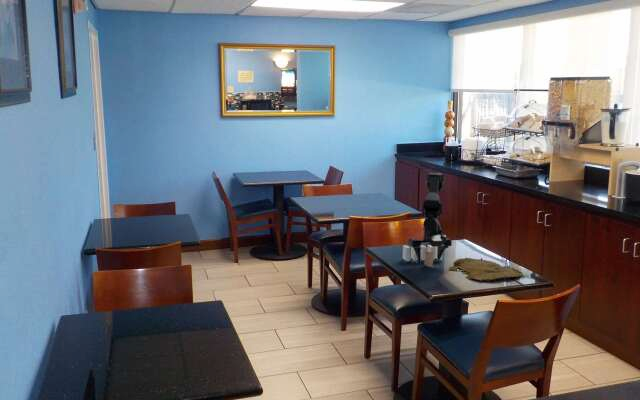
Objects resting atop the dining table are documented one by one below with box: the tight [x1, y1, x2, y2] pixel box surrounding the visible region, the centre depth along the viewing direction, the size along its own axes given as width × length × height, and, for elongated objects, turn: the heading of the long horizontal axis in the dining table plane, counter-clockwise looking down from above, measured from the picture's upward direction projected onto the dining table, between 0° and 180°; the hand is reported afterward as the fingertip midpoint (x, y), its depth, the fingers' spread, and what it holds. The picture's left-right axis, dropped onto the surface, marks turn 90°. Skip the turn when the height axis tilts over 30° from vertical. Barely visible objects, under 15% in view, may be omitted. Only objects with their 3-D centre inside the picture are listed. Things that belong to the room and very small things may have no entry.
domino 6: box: [434, 246, 444, 261], centre depth 270 cm, size 4×2×7 cm, turn 13°
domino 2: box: [410, 246, 418, 261], centre depth 268 cm, size 4×2×7 cm, turn 13°
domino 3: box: [420, 244, 427, 260], centre depth 269 cm, size 4×2×7 cm, turn 13°
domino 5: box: [424, 250, 434, 268], centre depth 259 cm, size 4×2×7 cm, turn 13°
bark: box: [448, 257, 524, 282], centre depth 253 cm, size 28×4×30 cm
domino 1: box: [402, 245, 411, 261], centre depth 267 cm, size 4×2×7 cm, turn 13°
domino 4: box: [427, 245, 435, 261], centre depth 270 cm, size 4×2×7 cm, turn 13°
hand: (428, 261), depth 260 cm, fingers open, 9 cm apart
